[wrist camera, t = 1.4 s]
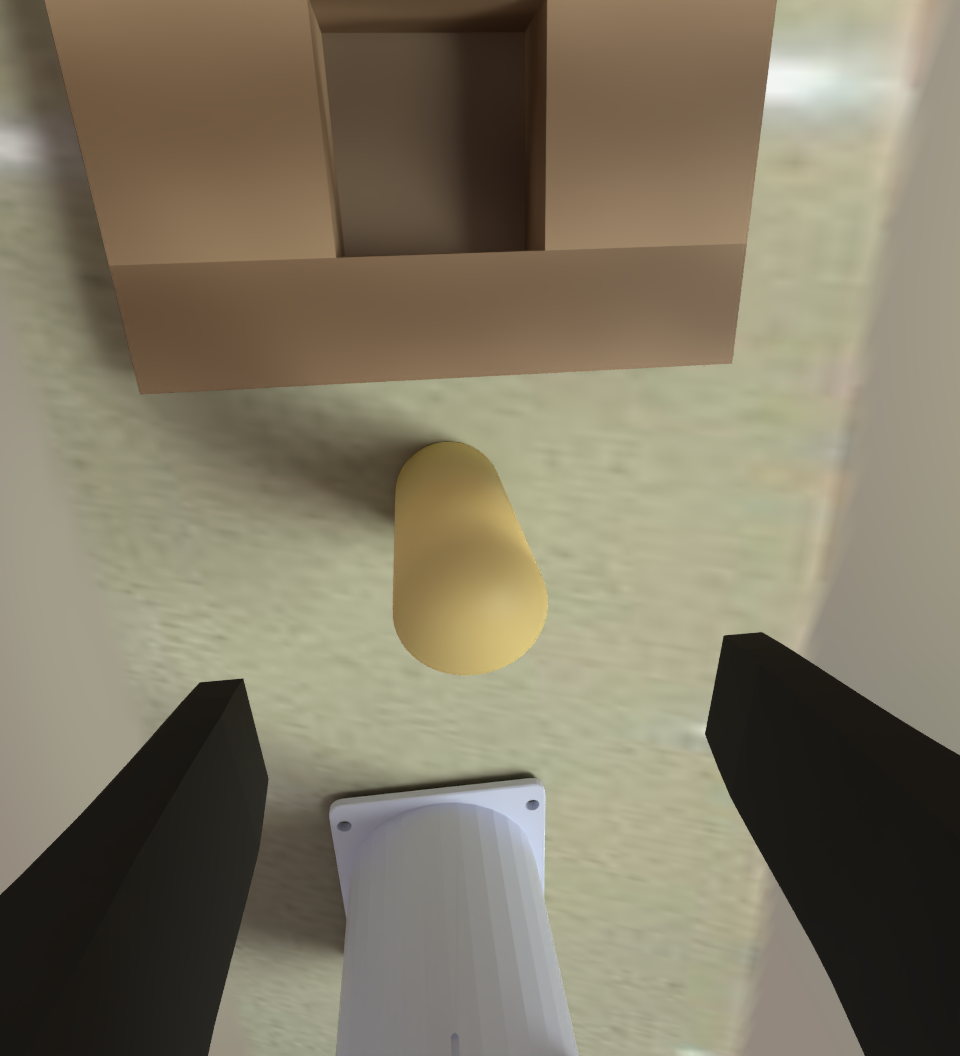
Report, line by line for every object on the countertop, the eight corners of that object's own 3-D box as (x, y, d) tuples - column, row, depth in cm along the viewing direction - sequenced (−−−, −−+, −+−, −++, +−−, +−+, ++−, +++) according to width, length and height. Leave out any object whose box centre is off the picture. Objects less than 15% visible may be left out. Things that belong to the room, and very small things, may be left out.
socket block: (683, 346, 19) (731, 363, 16) (181, 371, 17) (140, 394, 15) (725, -109, 15) (800, -191, 12) (76, -119, 13) (-8, -214, 11)
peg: (501, 536, 20) (547, 667, 14) (399, 544, 20) (399, 682, 14) (499, 438, 19) (549, 533, 13) (390, 444, 19) (386, 546, 12)
